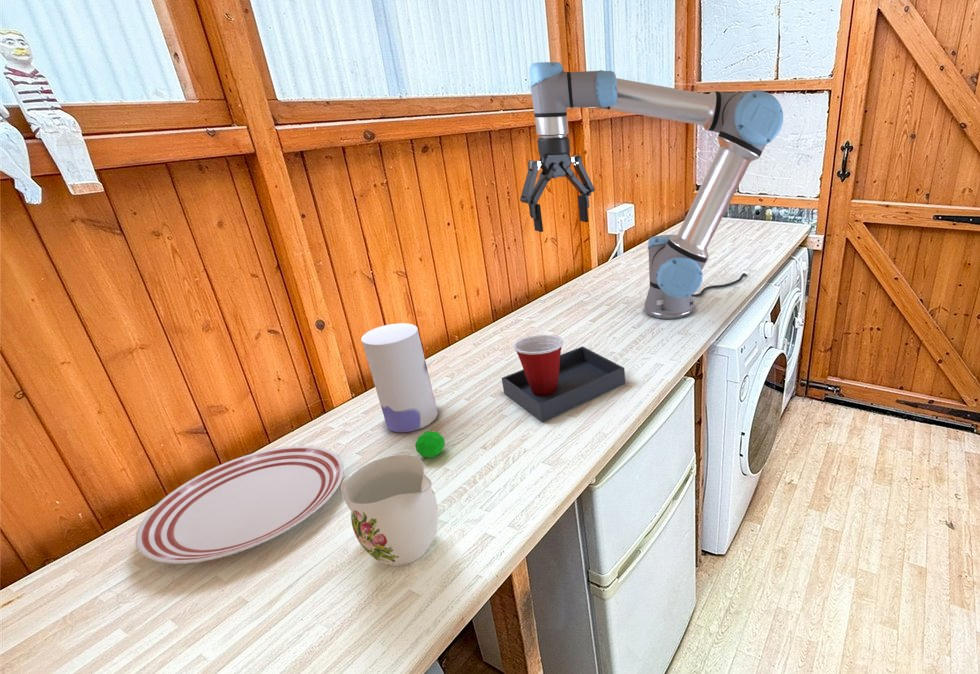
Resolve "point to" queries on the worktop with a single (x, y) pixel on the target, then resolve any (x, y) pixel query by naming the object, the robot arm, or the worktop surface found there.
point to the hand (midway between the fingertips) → (562, 226)
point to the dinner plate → (239, 504)
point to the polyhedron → (429, 444)
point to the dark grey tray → (567, 384)
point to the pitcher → (392, 508)
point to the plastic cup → (540, 362)
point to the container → (400, 376)
